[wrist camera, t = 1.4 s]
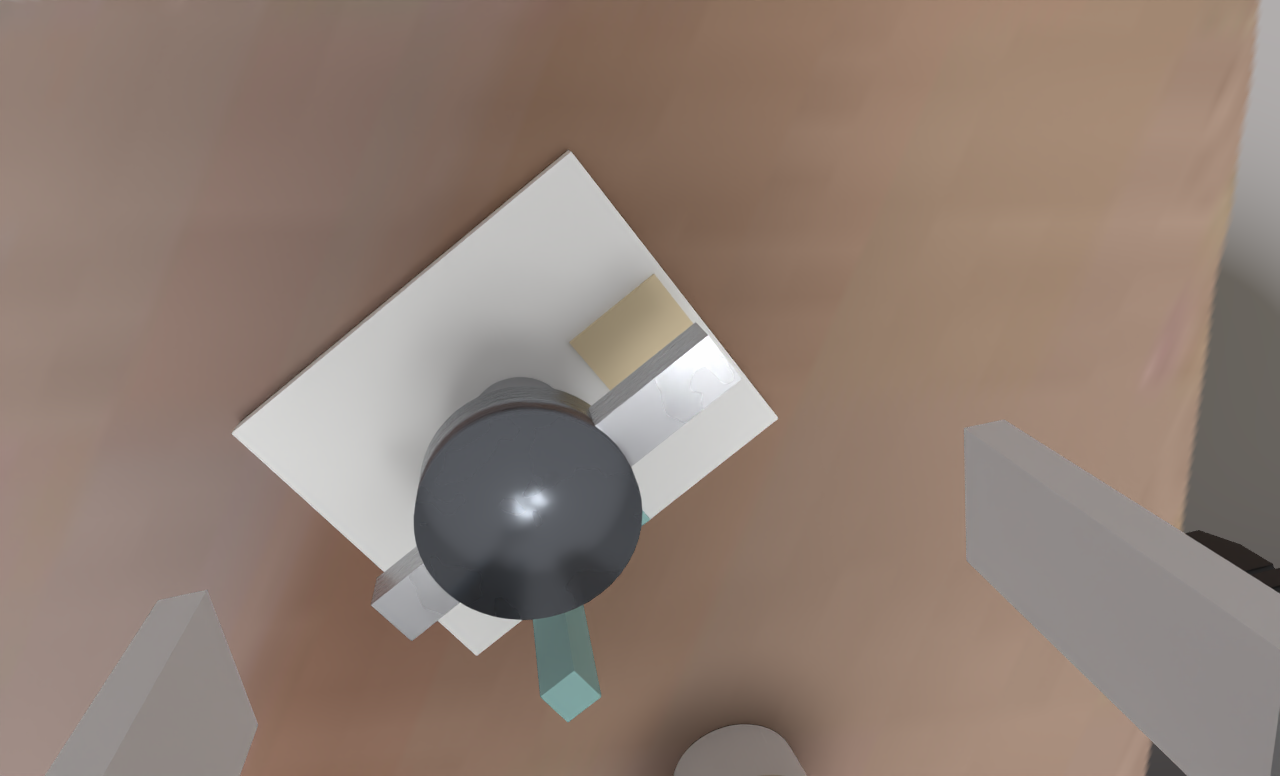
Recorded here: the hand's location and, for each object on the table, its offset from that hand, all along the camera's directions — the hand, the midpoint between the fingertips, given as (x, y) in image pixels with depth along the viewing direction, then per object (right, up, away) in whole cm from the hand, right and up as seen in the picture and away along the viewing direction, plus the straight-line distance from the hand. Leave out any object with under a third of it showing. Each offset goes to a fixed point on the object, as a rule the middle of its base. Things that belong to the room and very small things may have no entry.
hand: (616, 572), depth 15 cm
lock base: (-5, +2, +24) cm, 24 cm away
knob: (-3, 0, +17) cm, 17 cm away
